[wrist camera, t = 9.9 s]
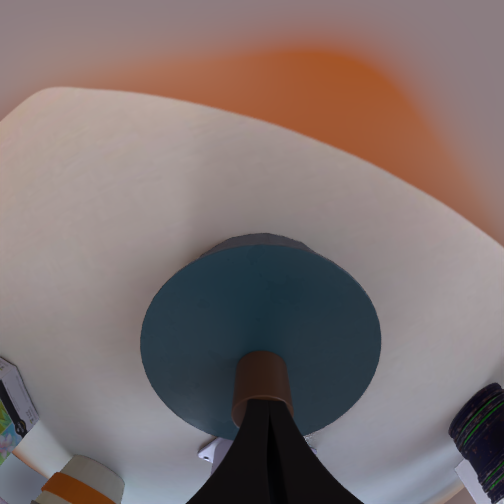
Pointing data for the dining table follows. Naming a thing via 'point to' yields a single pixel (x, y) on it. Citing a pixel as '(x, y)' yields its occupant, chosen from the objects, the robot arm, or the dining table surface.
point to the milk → (473, 483)
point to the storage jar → (483, 438)
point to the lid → (260, 337)
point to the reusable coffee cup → (82, 484)
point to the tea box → (13, 409)
